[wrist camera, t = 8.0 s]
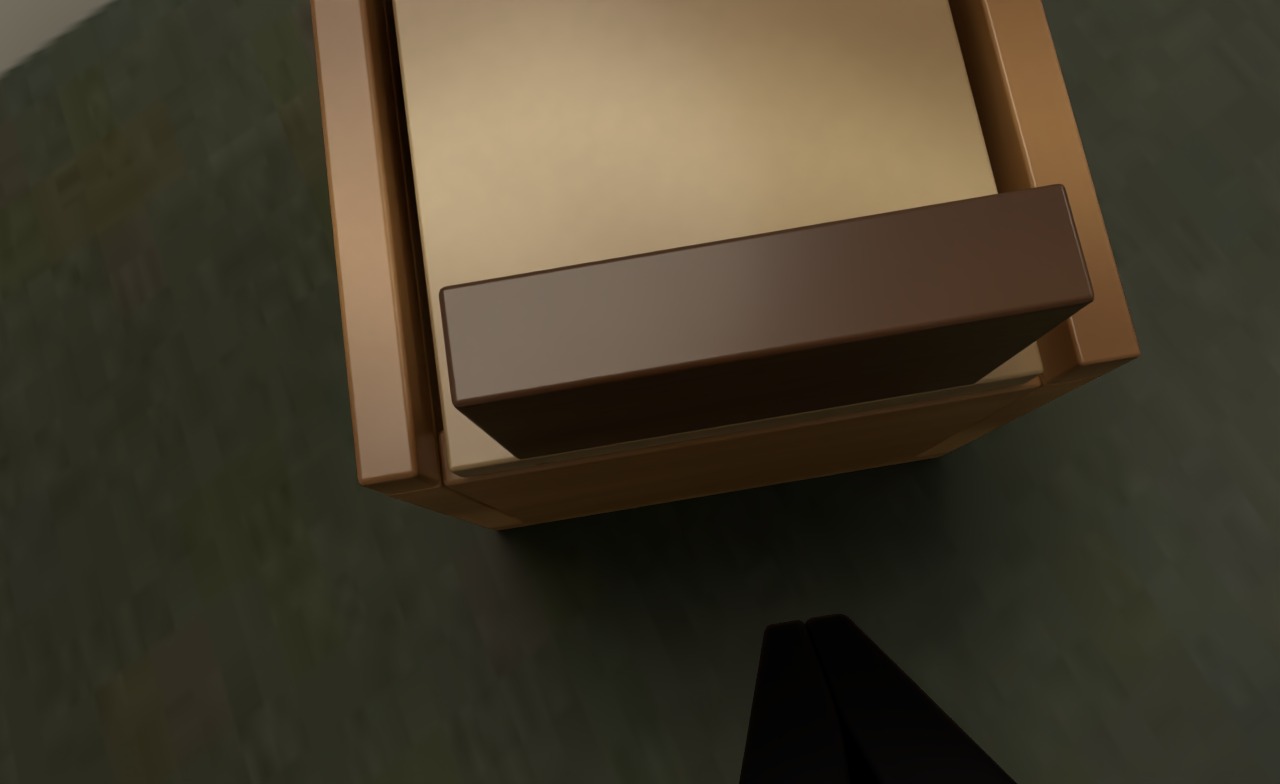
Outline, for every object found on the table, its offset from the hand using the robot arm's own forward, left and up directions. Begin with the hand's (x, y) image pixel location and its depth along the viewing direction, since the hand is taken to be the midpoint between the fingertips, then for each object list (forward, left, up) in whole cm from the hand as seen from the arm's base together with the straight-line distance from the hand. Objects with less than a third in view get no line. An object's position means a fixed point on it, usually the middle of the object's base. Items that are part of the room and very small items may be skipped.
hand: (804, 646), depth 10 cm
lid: (+7, +5, -2) cm, 9 cm away
